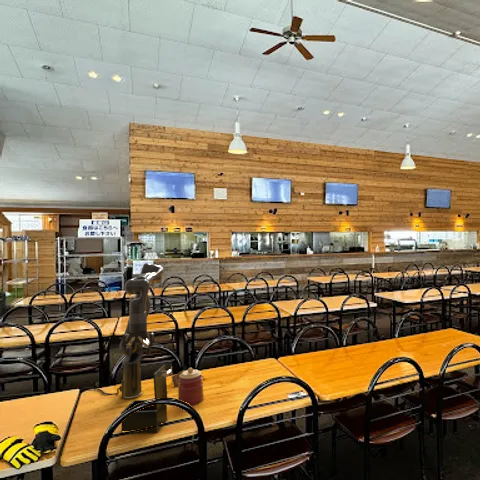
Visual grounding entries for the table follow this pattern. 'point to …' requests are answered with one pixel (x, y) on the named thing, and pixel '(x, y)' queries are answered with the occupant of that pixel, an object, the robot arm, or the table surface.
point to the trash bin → (144, 418)
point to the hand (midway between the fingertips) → (138, 355)
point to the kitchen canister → (190, 386)
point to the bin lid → (160, 384)
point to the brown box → (176, 378)
